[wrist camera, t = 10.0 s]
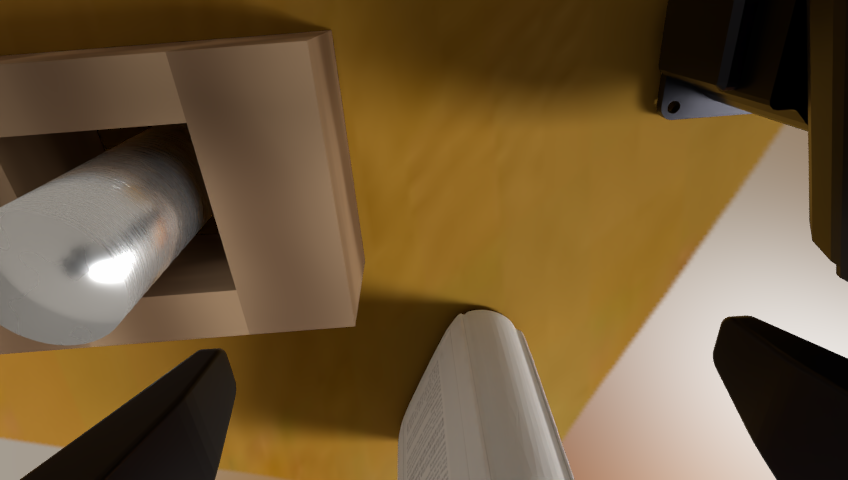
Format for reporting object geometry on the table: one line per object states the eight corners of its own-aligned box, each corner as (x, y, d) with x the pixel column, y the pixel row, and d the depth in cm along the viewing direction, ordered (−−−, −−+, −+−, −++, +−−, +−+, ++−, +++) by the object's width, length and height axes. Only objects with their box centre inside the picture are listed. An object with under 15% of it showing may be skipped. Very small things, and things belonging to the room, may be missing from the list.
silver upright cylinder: (244, 207, 21) (149, 338, 13) (154, 215, 21) (2, 351, 13) (220, 117, 19) (90, 204, 11) (121, 125, 19) (-81, 219, 11)
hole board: (331, 30, 18) (307, 40, 13) (364, 260, 22) (355, 326, 18) (-41, 59, 18) (-189, 79, 13) (68, 284, 22) (-15, 355, 18)
